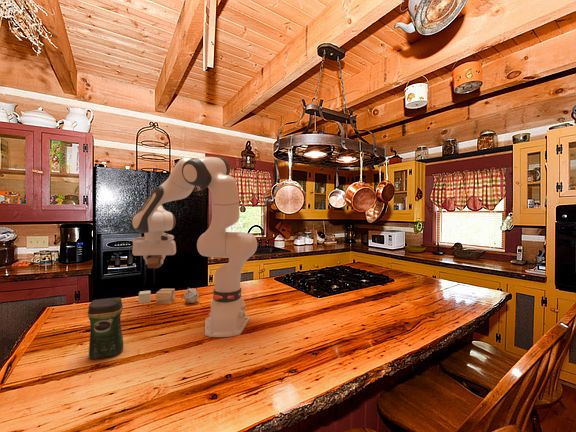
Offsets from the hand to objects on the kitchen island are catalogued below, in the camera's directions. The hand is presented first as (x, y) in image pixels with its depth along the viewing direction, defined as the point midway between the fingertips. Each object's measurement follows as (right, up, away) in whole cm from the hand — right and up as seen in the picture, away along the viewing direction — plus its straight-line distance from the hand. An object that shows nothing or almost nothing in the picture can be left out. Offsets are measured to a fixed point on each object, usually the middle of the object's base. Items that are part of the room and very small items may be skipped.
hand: (154, 264), depth 136 cm
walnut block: (0, -2, 0) cm, 2 cm away
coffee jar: (+6, -22, -45) cm, 50 cm away
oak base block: (+3, -21, +6) cm, 22 cm away
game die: (+17, -21, +4) cm, 28 cm away
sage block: (-8, -21, +6) cm, 23 cm away
